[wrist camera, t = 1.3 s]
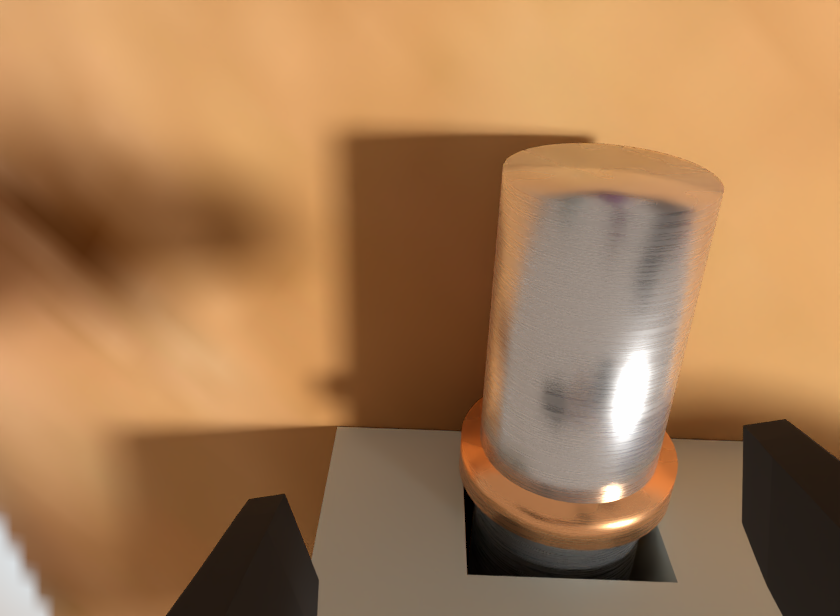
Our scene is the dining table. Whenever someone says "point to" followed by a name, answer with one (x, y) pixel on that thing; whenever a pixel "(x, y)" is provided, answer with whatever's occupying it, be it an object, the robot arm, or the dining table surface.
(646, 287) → the silver copper cylinder
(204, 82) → the dining table surface
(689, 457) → the block
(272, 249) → the dining table surface
